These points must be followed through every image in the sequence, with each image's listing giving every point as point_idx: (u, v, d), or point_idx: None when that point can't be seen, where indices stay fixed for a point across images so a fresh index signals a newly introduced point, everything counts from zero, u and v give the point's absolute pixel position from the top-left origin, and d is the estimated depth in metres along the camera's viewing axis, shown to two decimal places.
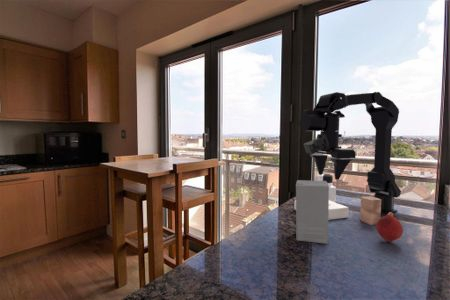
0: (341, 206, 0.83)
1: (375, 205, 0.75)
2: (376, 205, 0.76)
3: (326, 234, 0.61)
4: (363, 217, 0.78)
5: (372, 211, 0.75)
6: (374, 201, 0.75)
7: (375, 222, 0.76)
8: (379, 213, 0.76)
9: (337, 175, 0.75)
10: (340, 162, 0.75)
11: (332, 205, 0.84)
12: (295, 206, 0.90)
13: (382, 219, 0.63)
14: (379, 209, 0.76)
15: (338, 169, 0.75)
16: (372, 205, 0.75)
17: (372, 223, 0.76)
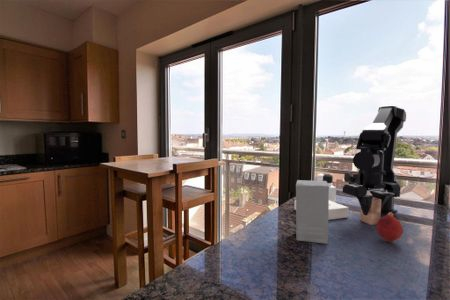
0: (341, 206, 0.83)
1: (375, 205, 0.75)
2: (376, 205, 0.76)
3: (326, 234, 0.61)
4: (363, 217, 0.78)
5: (372, 211, 0.75)
6: (374, 201, 0.75)
7: (375, 222, 0.76)
8: (379, 213, 0.76)
9: (363, 210, 0.77)
10: (363, 198, 0.76)
11: (332, 205, 0.84)
12: (295, 206, 0.90)
13: (382, 219, 0.63)
14: (379, 209, 0.76)
15: (361, 205, 0.77)
16: (372, 205, 0.75)
17: (372, 223, 0.76)
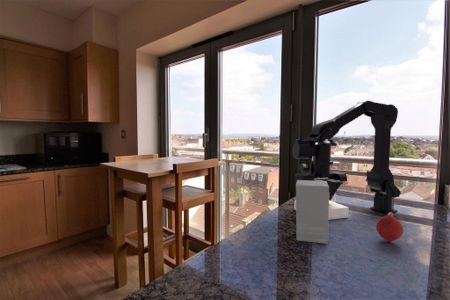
0: (341, 206, 0.83)
1: None
2: None
3: (326, 234, 0.61)
4: None
5: None
6: None
7: None
8: None
9: None
10: None
11: (332, 205, 0.84)
12: (295, 206, 0.90)
13: (382, 219, 0.63)
14: None
15: None
16: None
17: None
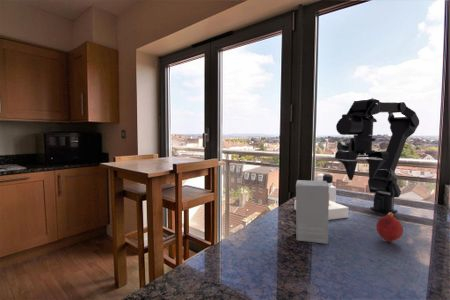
0: (341, 206, 0.83)
1: None
2: None
3: (326, 234, 0.61)
4: None
5: None
6: None
7: None
8: None
9: (348, 175, 0.82)
10: (349, 163, 0.81)
11: (332, 205, 0.84)
12: (295, 206, 0.90)
13: (382, 219, 0.63)
14: None
15: (347, 170, 0.82)
16: None
17: None
